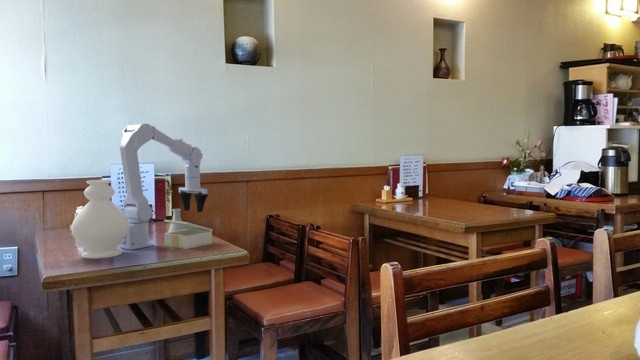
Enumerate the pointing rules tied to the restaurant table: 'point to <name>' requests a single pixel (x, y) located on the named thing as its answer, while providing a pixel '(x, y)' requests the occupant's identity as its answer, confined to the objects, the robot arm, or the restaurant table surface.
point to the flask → (177, 218)
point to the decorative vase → (100, 222)
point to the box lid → (188, 225)
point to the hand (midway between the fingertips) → (193, 211)
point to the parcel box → (188, 238)
